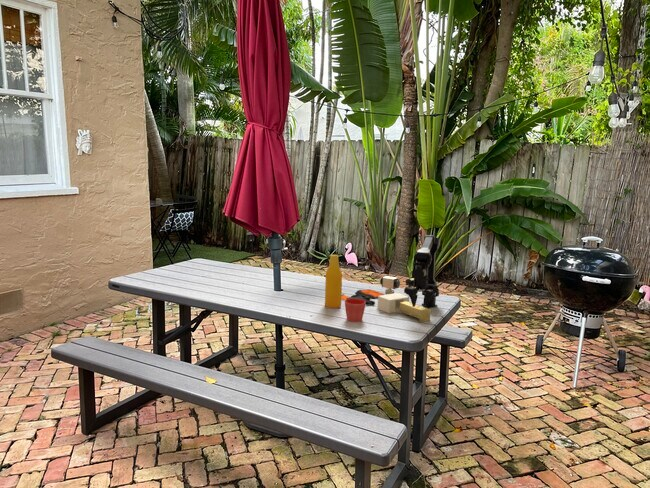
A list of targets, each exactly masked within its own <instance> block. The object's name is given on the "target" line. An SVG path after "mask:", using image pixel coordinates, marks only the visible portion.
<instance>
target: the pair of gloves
mask: <svg viewBox="0 0 650 488" xmlns="http://www.w3.org/2000/svg"><path fill="white" fill-rule="evenodd" d="M381 295H386V293H382V292H379V291H376V290H373V289H358V290H356V291H355V292H354V294H353V295H351V296H348V295H345V294H344V293H342V294H341V301H342V300H343V301H345V300H347V299H361V300H364V301H365V302H366V304H365V305H367V306H371V305H373V306H374V305H375V304H376V301H374V300H372V299H375V300H378V296H381Z"/></svg>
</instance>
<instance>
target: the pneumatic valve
mask: <svg viewBox="0 0 650 488" xmlns="http://www.w3.org/2000/svg"><path fill="white" fill-rule="evenodd" d="M379 281H380V282H379V284H380V285H381V288H385V292H384V294H385V295H387V294H393V293H395V291H394V290H397V289H398V288H399V287H401V286H400V285H401V281H400V280H399V277H393V276H392V275H389V276H387V275H385V276H382V277H381V278H380V280H379Z"/></svg>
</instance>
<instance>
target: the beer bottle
mask: <svg viewBox="0 0 650 488" xmlns="http://www.w3.org/2000/svg"><path fill="white" fill-rule="evenodd" d="M342 273H343V272H342V270H341V267H340V263H339V255H338V254H330V258H329V265H328V267H327V269H326V271H325V286H324V287H325V288H324V289H325V290H324V291H325V293H324V295H325V297H324V306H325V307H327V308H330V309H337V308H338V307H339V308H340V307H342V299H341V295H342V294H343V293H342V291H343V288H342V285H343V274H342Z"/></svg>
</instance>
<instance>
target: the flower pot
mask: <svg viewBox="0 0 650 488" xmlns="http://www.w3.org/2000/svg"><path fill="white" fill-rule="evenodd" d="M366 305H367V304H366V302H365V301H364V300H361V299H347V300H344V308H345V315H346V316H345V317H346V320H347V321H348V322H353V323H356V322H358V323H359V322H361V321H363V318H364V312H365V308H366Z"/></svg>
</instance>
